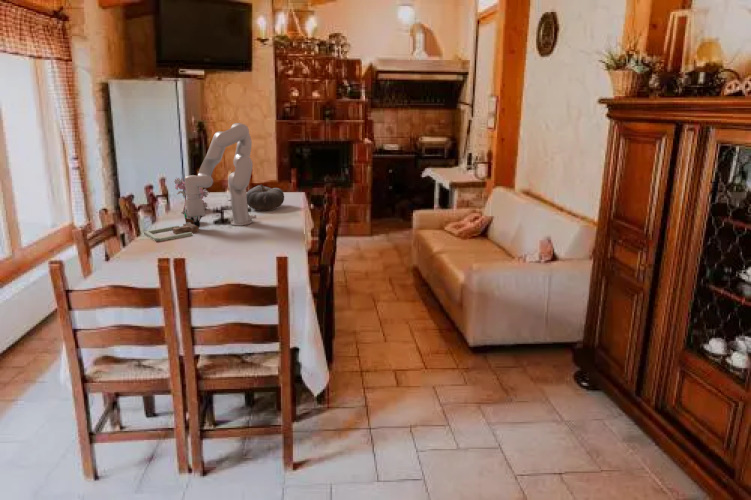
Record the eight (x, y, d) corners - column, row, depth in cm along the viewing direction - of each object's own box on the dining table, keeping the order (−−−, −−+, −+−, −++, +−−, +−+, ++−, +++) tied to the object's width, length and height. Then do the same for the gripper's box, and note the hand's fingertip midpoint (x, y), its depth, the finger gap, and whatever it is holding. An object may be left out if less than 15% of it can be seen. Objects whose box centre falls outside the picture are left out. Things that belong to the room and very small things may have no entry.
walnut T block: (190, 227, 328) (189, 223, 327) (199, 231, 319) (198, 226, 318) (170, 231, 321) (169, 226, 320) (178, 235, 311) (178, 230, 310)
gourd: (254, 200, 388) (254, 177, 381) (288, 206, 386) (289, 183, 379) (240, 212, 365) (241, 187, 358) (276, 218, 363) (278, 193, 356)
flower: (202, 213, 359) (207, 177, 363) (168, 210, 359) (173, 174, 362) (210, 219, 378) (215, 185, 382) (178, 216, 378) (183, 182, 382)
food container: (194, 225, 334) (192, 209, 331) (184, 225, 335) (182, 209, 332) (204, 220, 345) (202, 205, 342) (195, 220, 346) (193, 204, 343)
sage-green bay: (178, 227, 329) (178, 225, 328) (192, 235, 311) (192, 232, 311) (143, 234, 317) (143, 231, 317) (156, 242, 300) (156, 239, 299)
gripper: (203, 194, 326) (207, 224, 331) (178, 197, 317) (182, 228, 323) (208, 195, 320) (211, 226, 326) (183, 199, 312) (187, 230, 317)
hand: (197, 227), depth 324 cm, fingers closed
